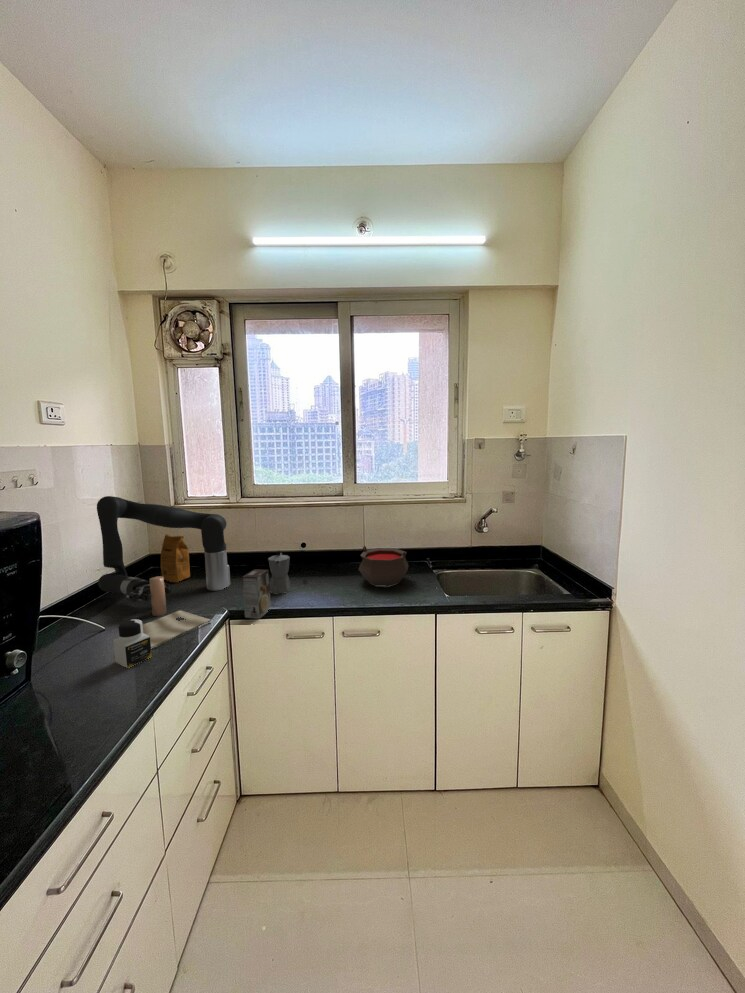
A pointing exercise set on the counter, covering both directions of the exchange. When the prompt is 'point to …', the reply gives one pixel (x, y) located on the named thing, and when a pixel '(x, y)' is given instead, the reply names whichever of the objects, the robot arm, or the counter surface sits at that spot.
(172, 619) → the ash board
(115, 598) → the counter surface
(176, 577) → the coffee package
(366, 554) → the brown cooking pot
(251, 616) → the coffee box
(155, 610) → the terracotta canister
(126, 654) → the medicine bottle
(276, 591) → the coffeepot
